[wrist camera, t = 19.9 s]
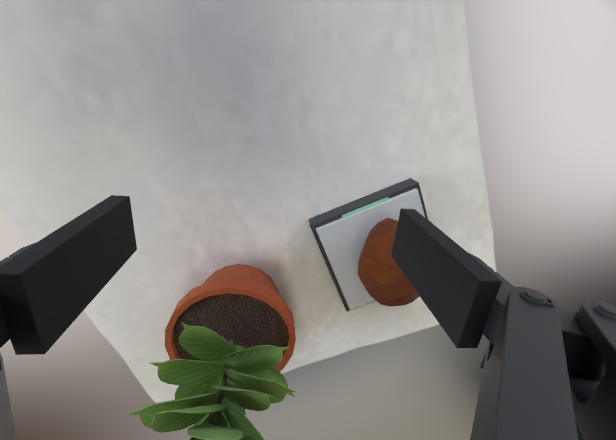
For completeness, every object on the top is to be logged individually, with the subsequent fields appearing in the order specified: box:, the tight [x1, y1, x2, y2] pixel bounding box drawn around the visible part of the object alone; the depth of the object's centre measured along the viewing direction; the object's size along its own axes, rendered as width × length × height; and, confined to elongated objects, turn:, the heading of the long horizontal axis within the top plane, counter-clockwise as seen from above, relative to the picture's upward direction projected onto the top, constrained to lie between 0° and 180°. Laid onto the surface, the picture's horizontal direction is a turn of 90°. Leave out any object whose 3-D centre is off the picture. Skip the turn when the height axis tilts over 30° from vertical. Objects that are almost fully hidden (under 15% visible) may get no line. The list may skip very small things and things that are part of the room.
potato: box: [358, 218, 419, 306], centre depth 35 cm, size 8×12×8 cm, turn 16°
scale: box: [309, 178, 428, 311], centre depth 41 cm, size 14×14×3 cm
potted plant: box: [127, 264, 296, 440], centre depth 29 cm, size 15×15×30 cm
